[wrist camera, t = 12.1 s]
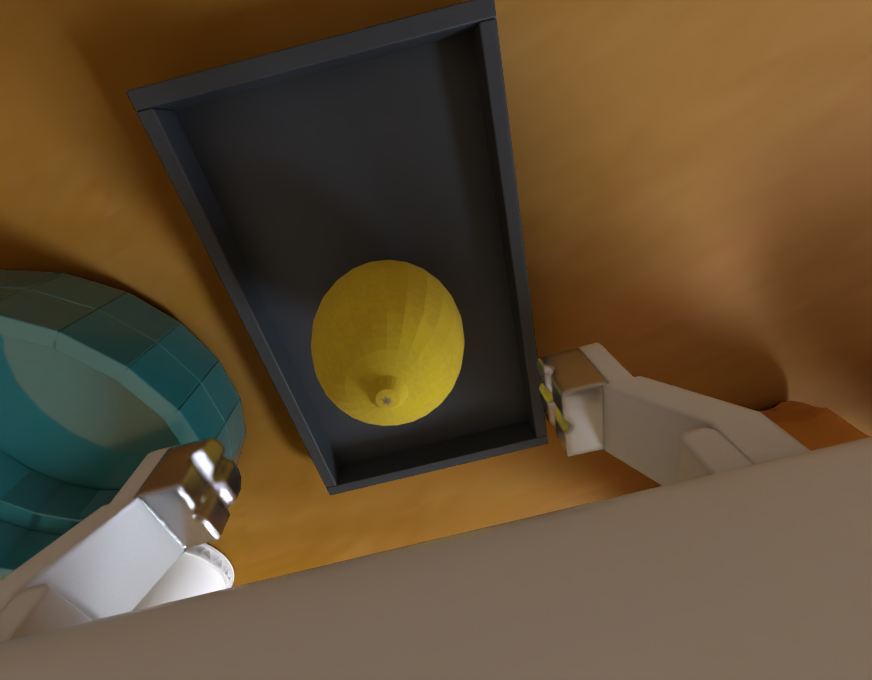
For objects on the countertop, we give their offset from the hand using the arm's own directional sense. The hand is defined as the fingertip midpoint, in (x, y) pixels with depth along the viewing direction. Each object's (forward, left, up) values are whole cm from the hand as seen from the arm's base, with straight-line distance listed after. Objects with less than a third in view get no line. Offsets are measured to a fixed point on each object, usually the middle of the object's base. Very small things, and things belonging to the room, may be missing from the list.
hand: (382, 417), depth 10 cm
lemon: (0, 0, -9) cm, 9 cm away
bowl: (+2, -16, -10) cm, 19 cm away
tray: (0, 0, -10) cm, 10 cm away
